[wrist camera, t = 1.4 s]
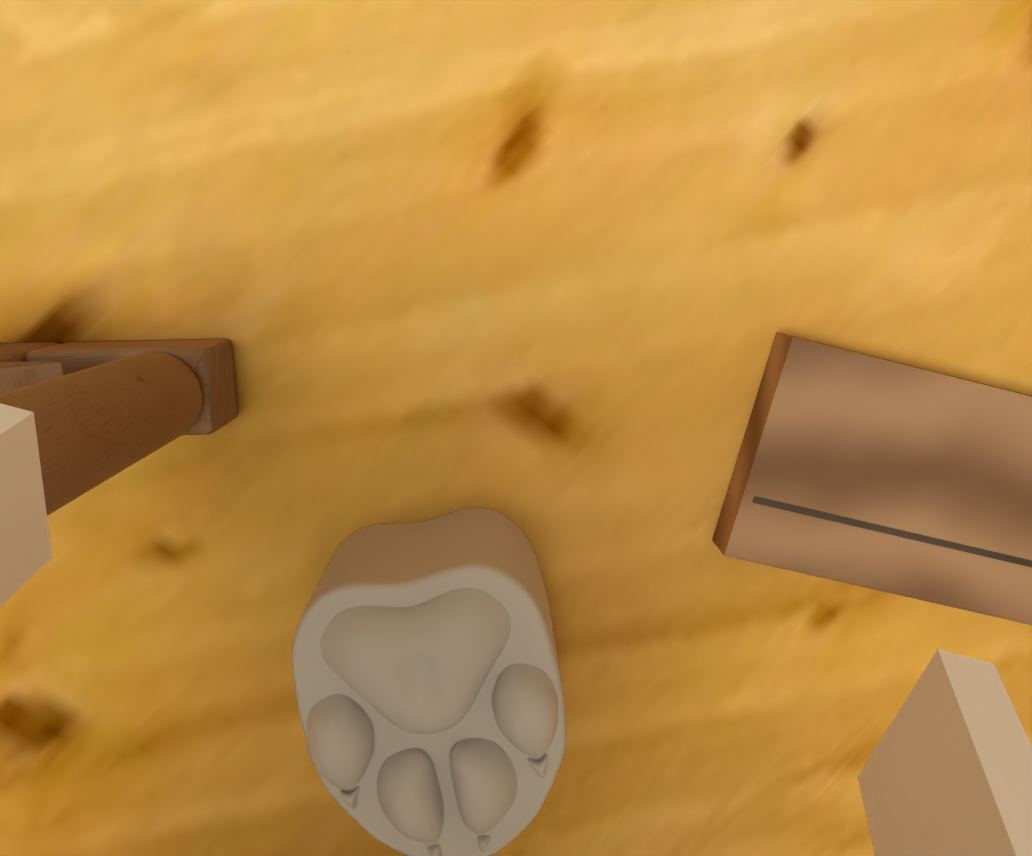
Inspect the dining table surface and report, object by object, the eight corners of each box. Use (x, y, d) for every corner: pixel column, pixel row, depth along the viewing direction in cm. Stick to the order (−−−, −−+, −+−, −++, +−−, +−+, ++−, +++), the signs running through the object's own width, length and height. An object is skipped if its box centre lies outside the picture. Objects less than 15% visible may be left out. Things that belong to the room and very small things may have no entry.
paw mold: (530, 497, 38) (541, 567, 30) (573, 744, 41) (594, 874, 32) (309, 535, 38) (257, 616, 30) (367, 779, 41) (334, 917, 33)
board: (1214, 654, 41) (1251, 675, 39) (712, 540, 39) (724, 555, 37) (1300, 463, 39) (1344, 474, 37) (776, 332, 37) (793, 337, 35)
